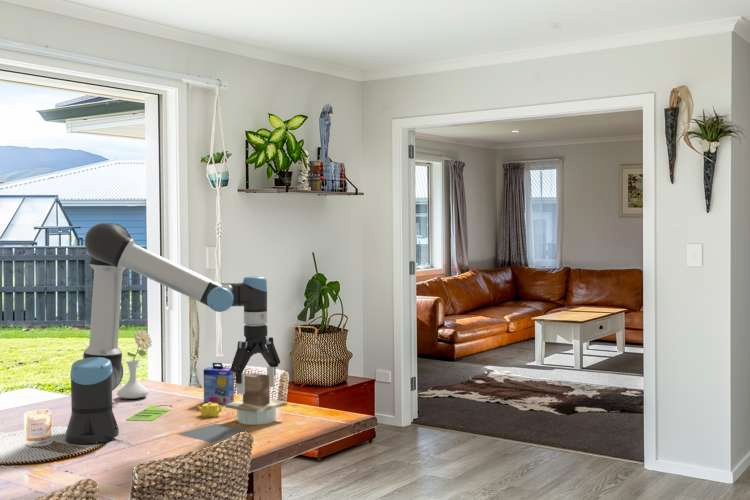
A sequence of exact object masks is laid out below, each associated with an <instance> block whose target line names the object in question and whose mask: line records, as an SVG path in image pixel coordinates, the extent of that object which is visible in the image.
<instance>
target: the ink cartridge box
mask: <svg viewBox="0 0 750 500" xmlns="http://www.w3.org/2000/svg"><path fill="white" fill-rule="evenodd" d="M230 369H231V367H226V366H223V362H212V366H208V367H205V368H204V369H203V403H204V402H207V403H208V402H212V403H218V404H225V403H226V404H228V403H233V402H235V381H234V380H235V378H234V377H235V375H234V374H235V373H234V372H231V371H230Z"/></svg>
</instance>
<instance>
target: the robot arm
mask: <svg viewBox="0 0 750 500" xmlns="http://www.w3.org/2000/svg"><path fill="white" fill-rule="evenodd" d="M84 247H85V250H86V252H87V253H88V255H89V266H90V267H91V268H92V269H93V283H92V297H91V298H92V299H91V316H90V327H89V328H90V330H89V345H88V346H87V347H86V348H85V349H84V350H83V356H82V357H83V358H82V359H78V360H76V361H74V362H73V363H72V364H71V368H70V373H69V374H70V400H71V403H70V406H71V415H70V418H69V421H68V424H67V427H66V432H65V441H66V442H67V443H70V444H76V445H88V444H87V443H95V444H97V443H96V442H102V443H107V442H112V441H114V440H115V439H116V437H118V436H119V435H120V431H119V430H120V429H119V426H118V425H119V424H118V423H117V420H116V417H115V414H114V412H113V391H114V390H115V389H116V388H118V387H119V385H120V384H121V383H122V380H123V378H124V367H123V363H122V361H123V351H122V350H121V349H120V348H119V346H118V345H119V332H120V331H119V329H120V318H121V317H120V314H121V304H122V303H121V300H122V286H123V285H122V284H123V273H124V271H125V270H130V271H132V272H134V273H136V274H138V275H141V276H143V277H145V278H147V279H150V280H151V281H154V282H155V283H157V284H160V285H163V286H165V287H167V288H169V289H171V290H173V291H175V292H177V293H179V294H183V296H185V297H188V298H190V299H192V300H195V301H197V302H199V303H201V304H202V305H205V306H207V307H208V308H210V309H211V310H213V311H214V312H218V313H222V312H223V313H224V312H226V311H228V310H229V309H230V308H231V307H243V324H244V326H243V337H245V341H237V348H236V352H235V354H234V358H233V359H232V360H233V361H232V363H231V365H230V366H231V367H230V368H231V369H230V371H231V372H234V374H235V383H236V393H237V394H240V395H243V394H245V375H246V374H245V372H244V370H245V368H246V367H247V365H248V363H249V361H250V359H251V357H252V356H254V355H257V354H260V355H261V356H262V357H263V359H264V360H265V362H266V363H267V364H268V366H266V375H269V388H275V386H276V384H275V376H276V375H277V374H276V368H277V367H279V364H281V360H280V357H279V354H278V352H277V350H276V347H275V344H274V337H271V336H268V325H267V323H268V285H267V283H268V282H267V278H266V277H264V276H260V275H259V276H245V277H243V281H242V282H236V283H232V282H229V283H228V282H227V283H226V282H217V281H214V280H212V279H209V278H208V277H205V276H203V275H201V274H199V273H198V272H195V271H192V270H191V269H188V268H187V267H184V266H182V265H180V264H178V263H176V262H173V261H171V260H169V259H167V258H166V257H162V256H161V255H159V254H157V253H155V252H152V251H150V250H148V249H146V248H144V247H142V246H140V245H138V244H136V243H135V240H134V239H133V238H132V236H131V233H130V232H129V230H128V229H127V228H126V227H124V225H121V224H120V223H115V222H101V223H100V222H99V223H97V224H95V225H93V226H91V227H90V228H89V229H88V230H87V232H86V234H85V236H84Z"/></svg>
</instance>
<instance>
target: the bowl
mask: <svg viewBox="0 0 750 500" xmlns="http://www.w3.org/2000/svg"><path fill="white" fill-rule="evenodd" d="M276 409H277V408H274V409H271V410H267V411H263V412H259V413H252V412H247V411H242V410H237V409H236V421H237V422H238V424H241V425H242V424H243V425H250V426H251V425H253V426H254V425H255V426H256V425H265V424H267V425H268V424H270V423H273V422H276V420H277V419H276V418H277V414H276V413H277V410H276Z"/></svg>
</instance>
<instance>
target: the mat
mask: <svg viewBox="0 0 750 500" xmlns="http://www.w3.org/2000/svg"><path fill="white" fill-rule="evenodd" d="M245 431H246V432H247V433H249V432H251V430H249V429H246V428H245V429H244V428H239V427H234V426H230V425H225V424H220V423H213V424H209V425H206V426H201V427H198V428H194V429H190V430H187V431H182V432H179V433H177V435H179V436H183V437H186V438H190V439H191V438H192V439H196V440H200V441H205V442H210V443H215V442H219V441H222V440H225V439H230V438H232V437H231V436H233V435H235V434H237V433H240V432H245ZM233 437H234V436H233Z"/></svg>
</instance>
